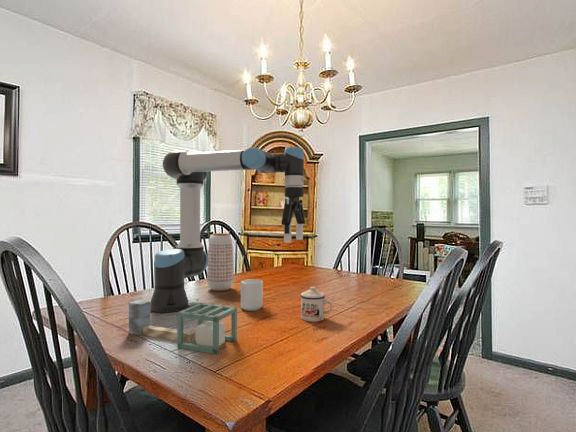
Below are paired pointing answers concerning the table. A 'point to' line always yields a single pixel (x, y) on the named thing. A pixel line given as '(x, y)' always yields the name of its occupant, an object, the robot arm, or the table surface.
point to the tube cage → (207, 316)
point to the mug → (251, 294)
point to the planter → (220, 262)
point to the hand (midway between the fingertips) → (293, 241)
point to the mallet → (141, 323)
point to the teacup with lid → (313, 305)
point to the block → (209, 334)
